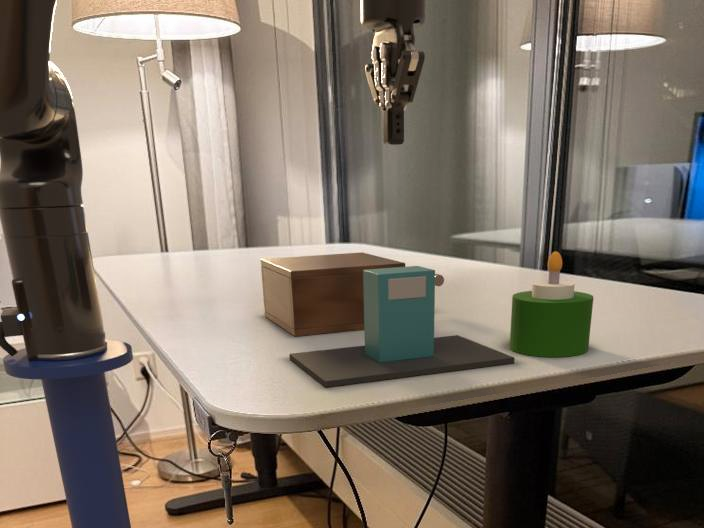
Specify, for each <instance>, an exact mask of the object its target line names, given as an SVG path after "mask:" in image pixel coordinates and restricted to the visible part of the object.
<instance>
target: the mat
mask: <svg viewBox="0 0 704 528" xmlns="http://www.w3.org/2000/svg"><path fill="white" fill-rule="evenodd" d="M289 360H290V361H291V362H293V363H294V364H295V365H297V366H298V367H299V368H301V369H302V370H303V371H305V373H307V374H308V376H310V377H312V378H313V379H314V380H316V381H317V382H318V383H319V384H321V385H322V386H323V387H325V388H332V387H338V386H341V387H342V386H348V385H355V384H364V383H370V382H371V383H372V382H379V381H386V380H394V379H401V378H402V379H403V378H409V377H417V376H426V375H433V374H440V373H448V372H456V371H464V370H472V369H473V370H474V369H478V368H487V367H488V368H489V367H497V366H503V365H510V364H511V365H512V364H515V356H512V355H509V354H507V353H504V352H502V351H499V350H496V349H494V348H491V347H489V346H486V345H484V344H481V343H479V342H476V341H473V340H471V339H469V338H466V337H463V336H461V335H458V334H453V335H445V336H438V337H434V356H432V357H424V358H415V359H407V360H399V361H390V362H382V363H379V362H378V361H376V360H374V359H372V358H371V357H369V356H367V355H365V344H364V345H355V346H348V347H338V348H337V347H336V348H329V349H328V348H327V349H319V350H312V351H311V350H310V351H301V352H293V353H292V352H291V353H289Z"/></svg>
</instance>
